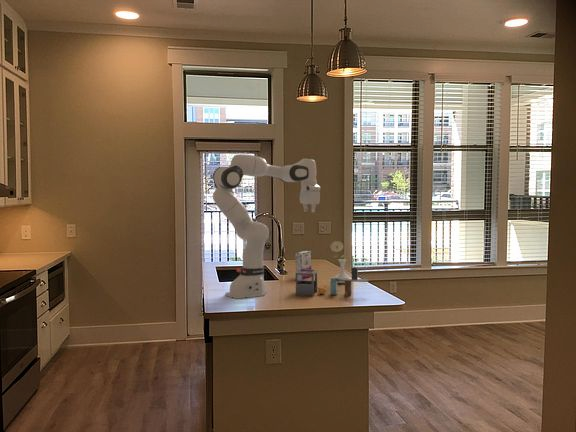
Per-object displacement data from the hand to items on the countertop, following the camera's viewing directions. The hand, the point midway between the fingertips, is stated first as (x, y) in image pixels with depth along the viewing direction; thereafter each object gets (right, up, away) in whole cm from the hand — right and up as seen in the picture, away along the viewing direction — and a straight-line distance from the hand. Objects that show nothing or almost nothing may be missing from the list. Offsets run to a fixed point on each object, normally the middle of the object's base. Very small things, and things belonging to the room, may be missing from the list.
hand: (309, 212), depth 282 cm
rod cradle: (+20, -44, -18) cm, 51 cm away
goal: (-2, -44, -13) cm, 46 cm away
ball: (+6, -42, -15) cm, 45 cm away
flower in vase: (+20, -42, +16) cm, 49 cm away
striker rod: (+20, -43, -18) cm, 51 cm away
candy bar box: (-2, -42, +35) cm, 54 cm away
